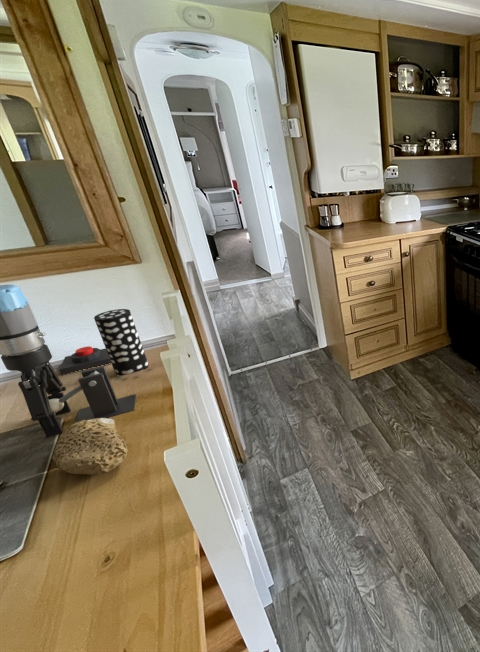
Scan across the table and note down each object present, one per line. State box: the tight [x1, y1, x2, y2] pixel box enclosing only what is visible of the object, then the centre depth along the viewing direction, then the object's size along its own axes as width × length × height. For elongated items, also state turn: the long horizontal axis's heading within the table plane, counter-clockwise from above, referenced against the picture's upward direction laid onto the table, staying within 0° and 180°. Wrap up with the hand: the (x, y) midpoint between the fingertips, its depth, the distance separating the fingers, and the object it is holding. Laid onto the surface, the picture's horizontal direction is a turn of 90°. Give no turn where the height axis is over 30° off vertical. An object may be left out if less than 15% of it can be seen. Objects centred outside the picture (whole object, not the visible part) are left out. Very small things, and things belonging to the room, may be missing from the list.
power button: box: [74, 345, 94, 356], centre depth 125 cm, size 4×4×2 cm
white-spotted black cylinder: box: [93, 308, 150, 377], centre depth 119 cm, size 8×8×20 cm
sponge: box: [51, 418, 128, 476], centre depth 86 cm, size 13×8×20 cm
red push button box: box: [58, 347, 111, 376], centre depth 126 cm, size 12×10×4 cm
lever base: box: [74, 366, 137, 423], centre depth 100 cm, size 12×9×13 cm
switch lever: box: [48, 371, 99, 414], centre depth 97 cm, size 13×4×4 cm, turn 127°
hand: (60, 425), depth 97 cm, fingers open, 10 cm apart
